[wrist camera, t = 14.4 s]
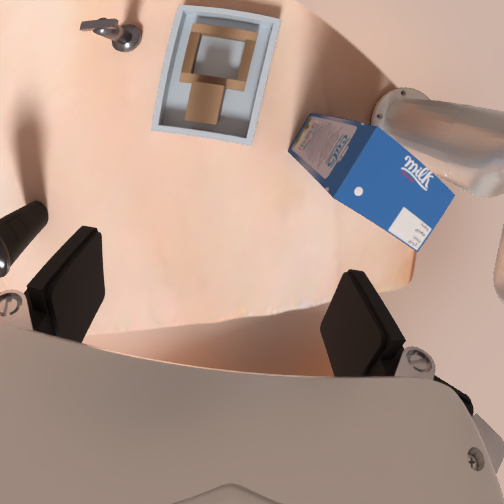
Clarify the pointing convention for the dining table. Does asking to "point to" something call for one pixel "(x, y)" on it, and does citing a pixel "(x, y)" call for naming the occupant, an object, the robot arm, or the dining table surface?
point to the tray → (215, 73)
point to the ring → (209, 87)
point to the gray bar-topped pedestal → (115, 33)
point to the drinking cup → (19, 232)
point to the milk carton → (372, 176)
